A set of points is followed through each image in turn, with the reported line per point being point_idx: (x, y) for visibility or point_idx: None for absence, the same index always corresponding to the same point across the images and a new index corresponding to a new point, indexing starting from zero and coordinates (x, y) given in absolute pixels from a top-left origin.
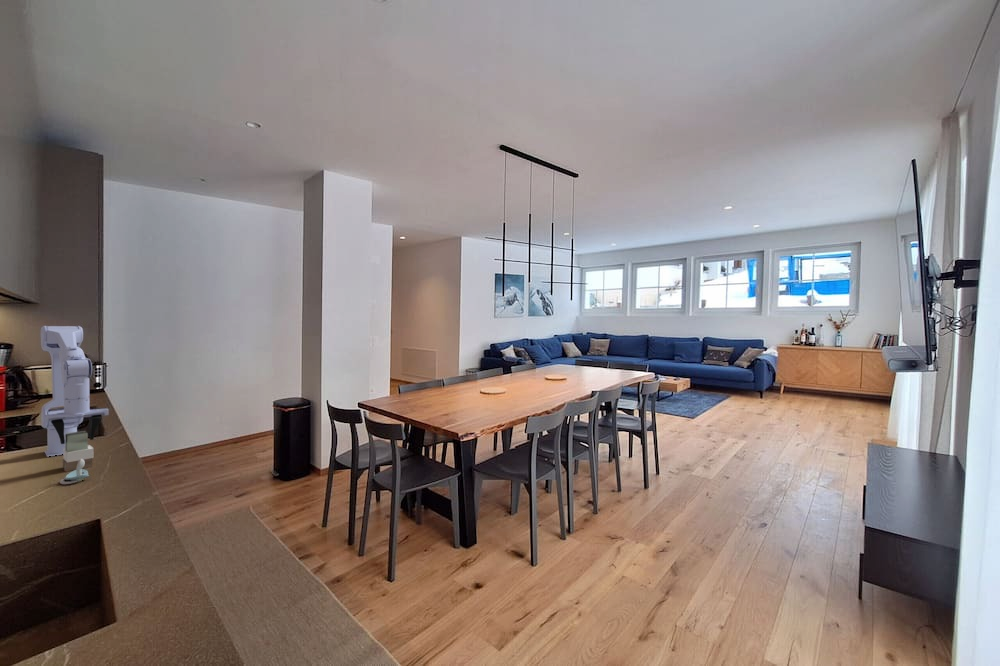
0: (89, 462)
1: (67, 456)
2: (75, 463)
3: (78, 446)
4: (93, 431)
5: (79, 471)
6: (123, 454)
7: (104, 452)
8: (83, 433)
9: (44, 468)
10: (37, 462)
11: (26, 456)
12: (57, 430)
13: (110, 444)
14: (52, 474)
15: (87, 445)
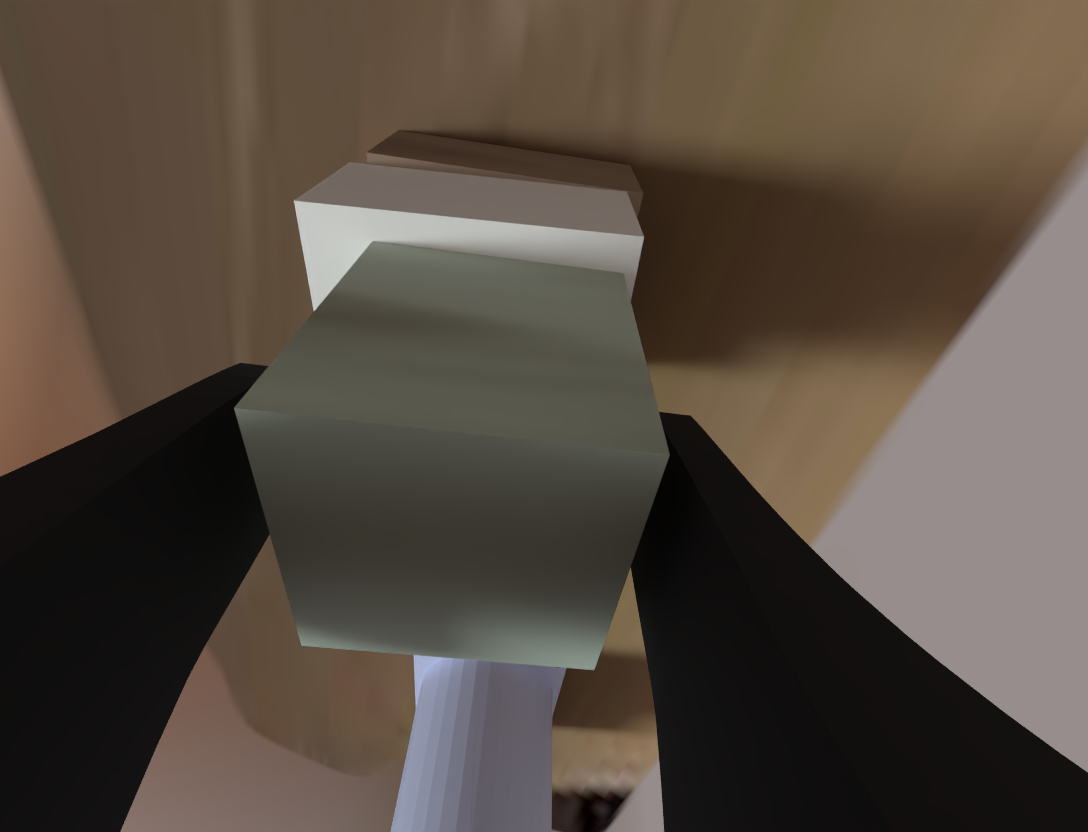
0: (409, 144)
1: (630, 215)
2: (543, 171)
3: (483, 280)
4: (101, 449)
5: None
6: (145, 387)
7: None
8: (328, 443)
9: None
10: None
11: (622, 712)
12: (953, 675)
13: (262, 665)
14: (734, 171)
15: (357, 262)
